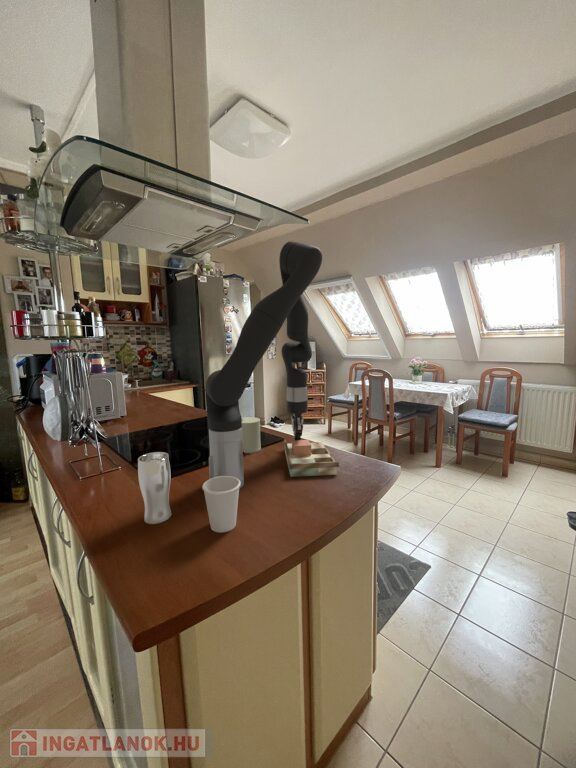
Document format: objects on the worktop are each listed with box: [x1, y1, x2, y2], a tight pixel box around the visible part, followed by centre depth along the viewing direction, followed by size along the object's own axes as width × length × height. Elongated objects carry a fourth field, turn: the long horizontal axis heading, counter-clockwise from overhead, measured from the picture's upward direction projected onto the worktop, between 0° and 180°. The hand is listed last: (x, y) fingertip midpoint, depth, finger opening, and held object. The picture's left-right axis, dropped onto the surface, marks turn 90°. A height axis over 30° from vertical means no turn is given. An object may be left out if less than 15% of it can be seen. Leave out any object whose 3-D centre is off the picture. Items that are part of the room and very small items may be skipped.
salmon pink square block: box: [291, 439, 311, 456], centre depth 110 cm, size 6×6×4 cm
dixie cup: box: [201, 476, 241, 534], centre depth 71 cm, size 8×8×10 cm
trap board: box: [283, 439, 340, 478], centre depth 109 cm, size 15×24×4 cm, turn 5°
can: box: [241, 416, 262, 454], centre depth 121 cm, size 9×9×12 cm
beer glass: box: [137, 451, 172, 525], centre depth 75 cm, size 7×7×15 cm
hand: (297, 445), depth 115 cm, fingers closed
